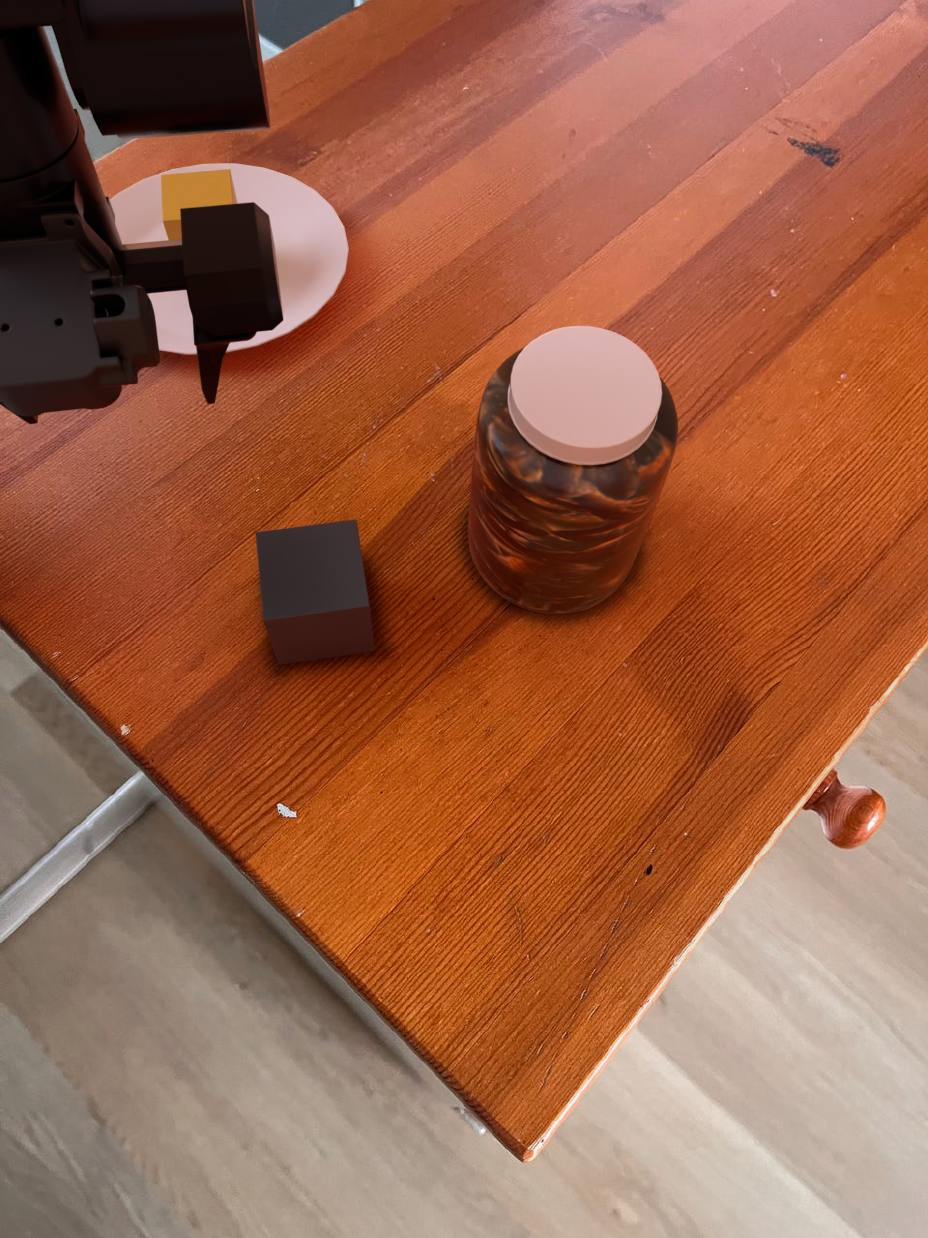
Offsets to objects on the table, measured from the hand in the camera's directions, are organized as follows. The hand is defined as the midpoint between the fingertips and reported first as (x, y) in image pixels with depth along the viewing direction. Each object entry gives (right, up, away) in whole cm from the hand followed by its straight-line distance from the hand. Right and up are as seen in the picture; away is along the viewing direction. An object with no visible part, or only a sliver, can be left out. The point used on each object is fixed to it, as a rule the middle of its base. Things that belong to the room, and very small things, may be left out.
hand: (123, 407), depth 48 cm
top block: (-1, +17, +21) cm, 27 cm away
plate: (-1, +16, +23) cm, 28 cm away
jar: (+24, -6, +13) cm, 28 cm away
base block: (+9, -11, +9) cm, 17 cm away
